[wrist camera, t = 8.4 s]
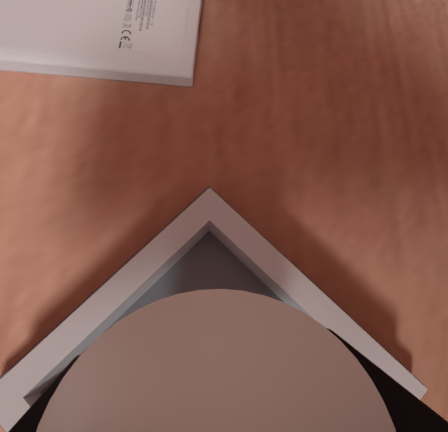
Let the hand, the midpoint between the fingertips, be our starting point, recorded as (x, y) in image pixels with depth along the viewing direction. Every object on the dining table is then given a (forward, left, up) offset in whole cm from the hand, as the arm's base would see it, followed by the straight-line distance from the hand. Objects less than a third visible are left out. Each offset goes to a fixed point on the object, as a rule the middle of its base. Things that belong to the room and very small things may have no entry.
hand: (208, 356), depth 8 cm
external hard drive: (+17, -8, -9) cm, 21 cm away
